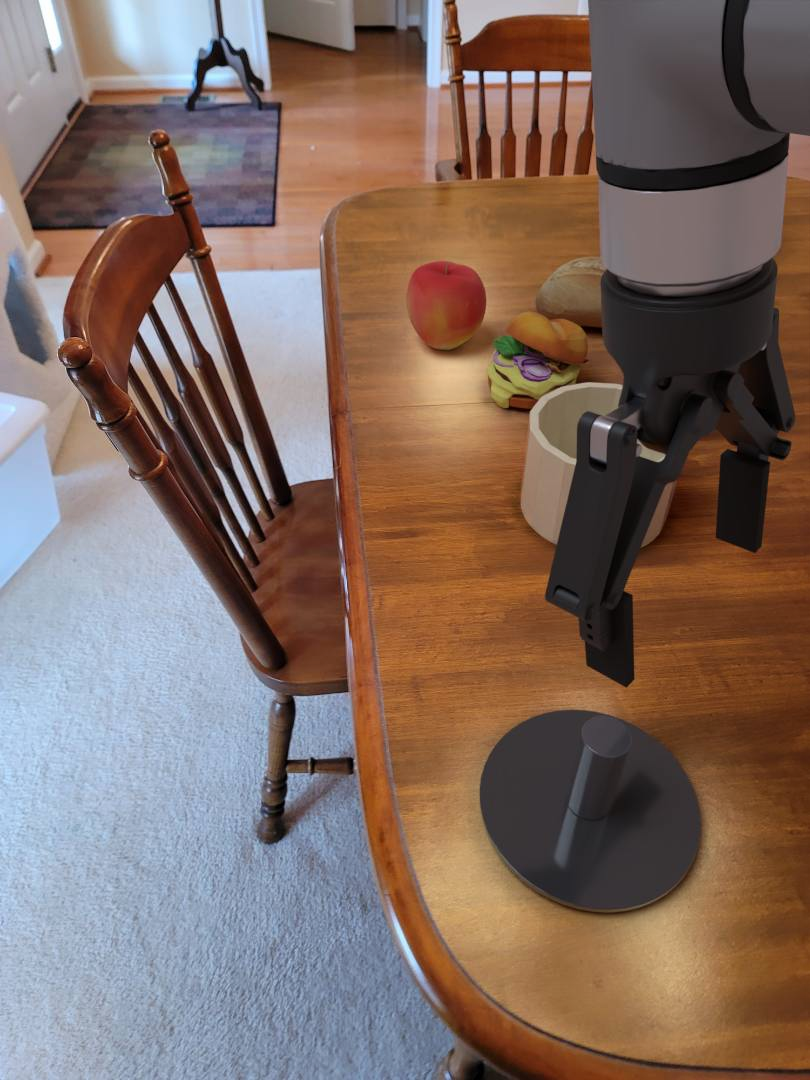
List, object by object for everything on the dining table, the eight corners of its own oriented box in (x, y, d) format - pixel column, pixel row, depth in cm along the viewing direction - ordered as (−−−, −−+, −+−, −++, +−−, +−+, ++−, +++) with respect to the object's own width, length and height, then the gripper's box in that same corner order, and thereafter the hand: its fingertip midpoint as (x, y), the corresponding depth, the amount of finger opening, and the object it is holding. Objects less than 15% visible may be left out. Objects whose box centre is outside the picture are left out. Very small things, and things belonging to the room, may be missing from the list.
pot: (694, 513, 79) (720, 431, 72) (598, 577, 72) (616, 494, 66) (586, 446, 86) (601, 366, 80) (490, 499, 80) (498, 418, 74)
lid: (742, 823, 56) (781, 751, 50) (595, 968, 49) (620, 904, 43) (579, 685, 64) (596, 610, 58) (434, 793, 57) (437, 720, 52)
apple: (477, 368, 98) (482, 288, 91) (397, 360, 99) (397, 280, 92) (487, 328, 105) (493, 251, 98) (413, 321, 106) (413, 244, 99)
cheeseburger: (461, 387, 94) (481, 301, 89) (526, 377, 101) (548, 296, 95) (523, 427, 88) (549, 337, 83) (588, 413, 95) (615, 329, 89)
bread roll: (654, 347, 101) (668, 285, 96) (531, 336, 103) (537, 275, 98) (652, 310, 108) (665, 250, 103) (536, 300, 110) (542, 241, 105)
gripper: (753, 161, 45) (731, 479, 58) (431, 367, 34) (493, 703, 47) (900, 171, 40) (840, 515, 53) (582, 415, 29) (604, 775, 42)
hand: (678, 603), depth 50 cm, fingers open, 13 cm apart
